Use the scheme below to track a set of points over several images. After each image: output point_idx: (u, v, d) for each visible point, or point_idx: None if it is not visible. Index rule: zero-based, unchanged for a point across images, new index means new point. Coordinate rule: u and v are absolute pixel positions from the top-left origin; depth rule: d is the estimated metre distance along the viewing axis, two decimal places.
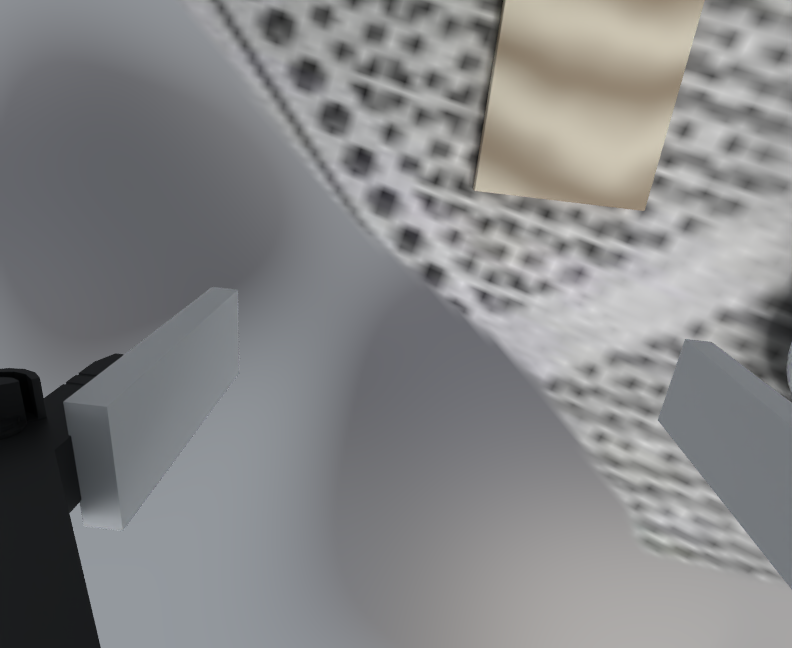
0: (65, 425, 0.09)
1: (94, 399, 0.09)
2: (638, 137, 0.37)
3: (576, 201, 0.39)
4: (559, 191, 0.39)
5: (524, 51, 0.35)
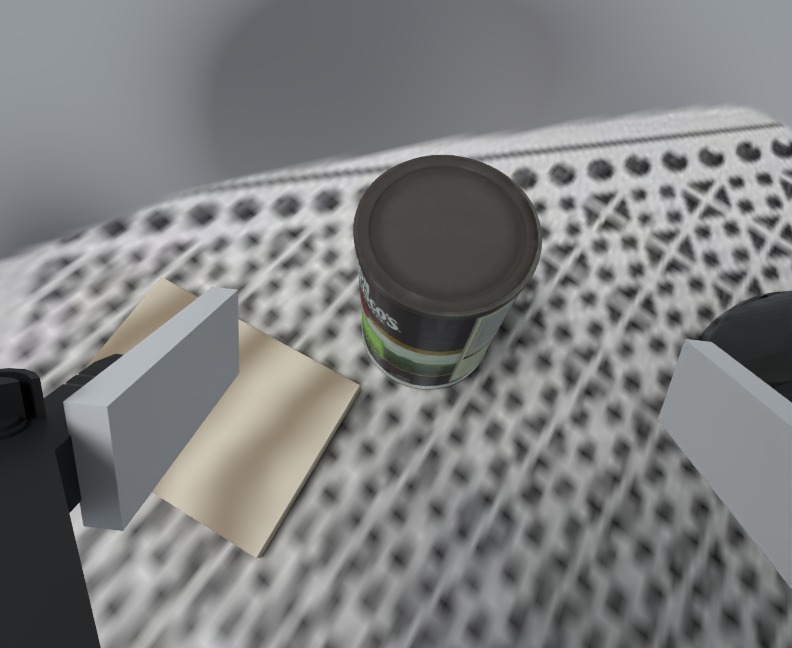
0: (65, 425, 0.09)
1: (94, 399, 0.09)
2: None
3: (93, 359, 0.37)
4: (113, 347, 0.38)
5: (250, 353, 0.38)
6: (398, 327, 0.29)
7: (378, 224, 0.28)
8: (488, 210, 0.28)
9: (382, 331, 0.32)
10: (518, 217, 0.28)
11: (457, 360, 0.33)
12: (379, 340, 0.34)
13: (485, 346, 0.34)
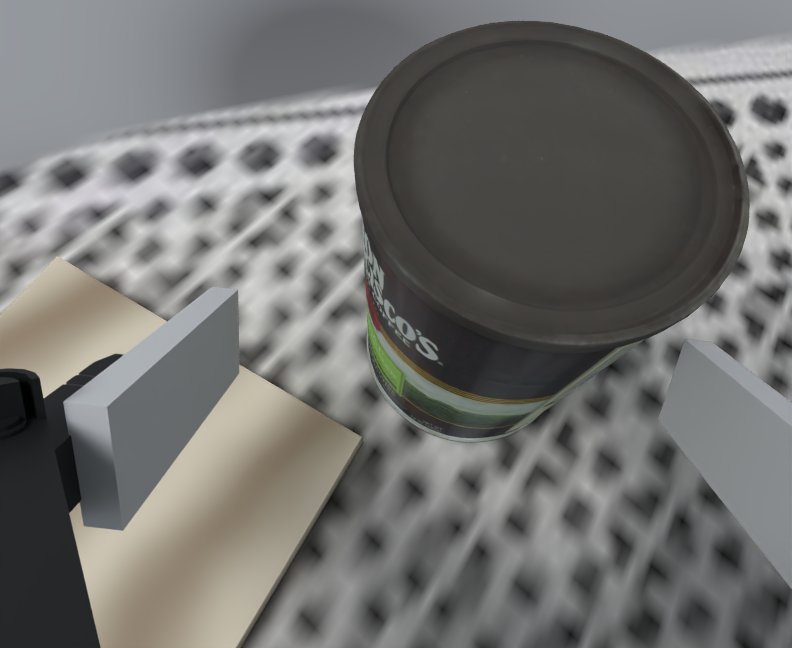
0: (65, 425, 0.09)
1: (94, 399, 0.09)
2: None
3: None
4: None
5: None
6: (439, 356, 0.15)
7: (407, 147, 0.13)
8: (629, 125, 0.14)
9: (404, 358, 0.17)
10: (692, 139, 0.14)
11: (534, 409, 0.19)
12: (397, 370, 0.19)
13: None
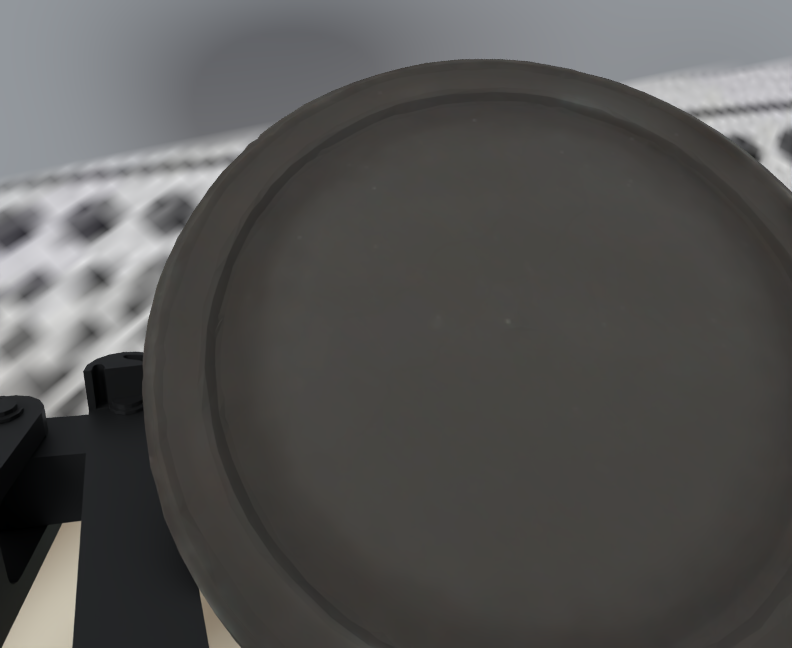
0: None
1: None
2: None
3: None
4: None
5: None
6: None
7: (255, 302, 0.07)
8: (666, 248, 0.08)
9: None
10: (779, 274, 0.08)
11: None
12: None
13: None
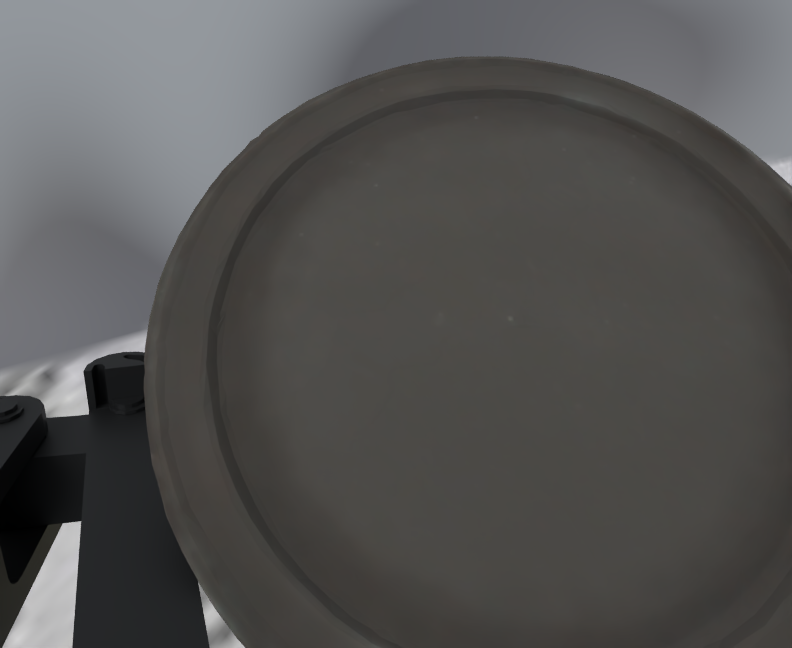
0: None
1: None
2: None
3: None
4: None
5: None
6: None
7: (257, 300, 0.07)
8: (668, 245, 0.08)
9: None
10: (782, 272, 0.08)
11: None
12: None
13: None
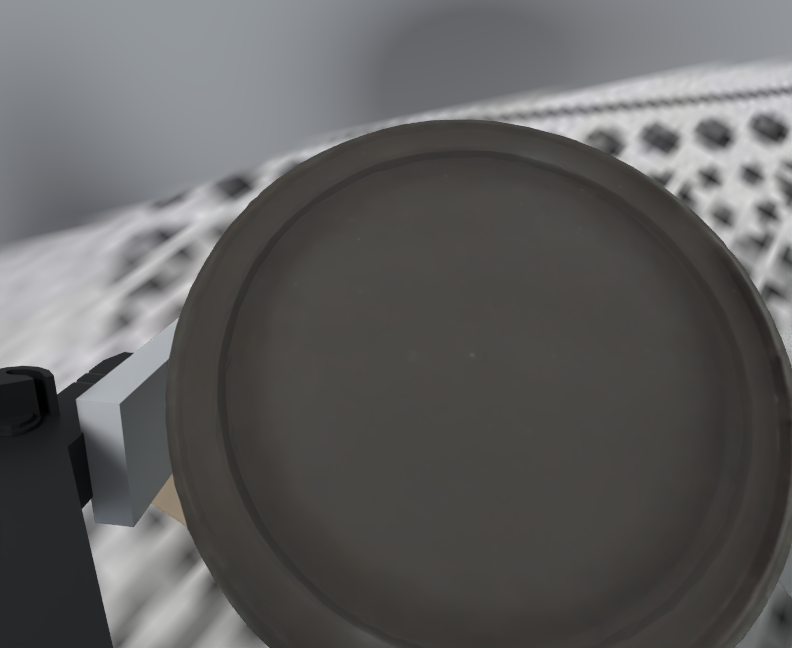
0: (77, 422, 0.09)
1: (106, 397, 0.09)
2: None
3: None
4: None
5: None
6: None
7: (258, 342, 0.08)
8: (608, 288, 0.09)
9: None
10: (705, 309, 0.09)
11: None
12: None
13: None
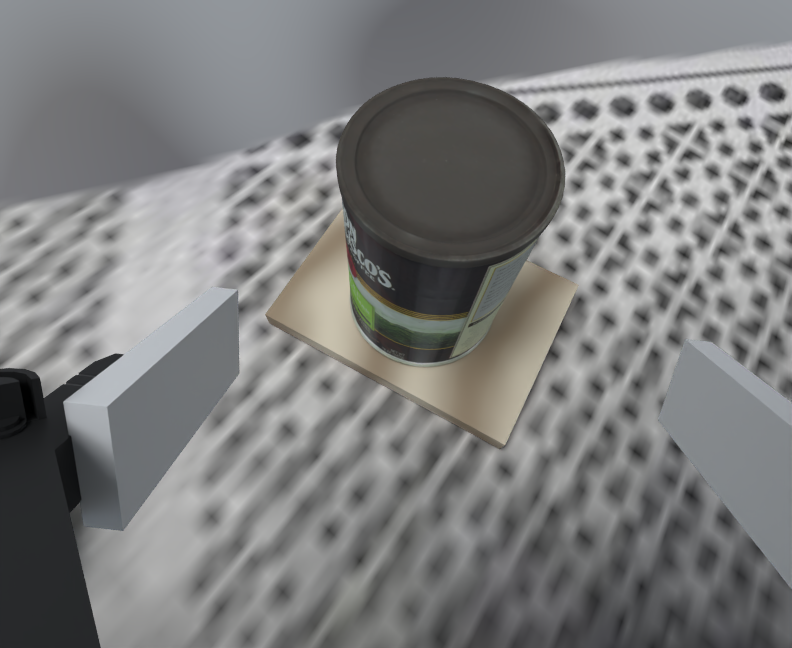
0: (65, 425, 0.09)
1: (94, 399, 0.09)
2: (343, 326, 0.35)
3: (308, 257, 0.37)
4: (325, 246, 0.37)
5: None
6: (392, 283, 0.24)
7: (367, 155, 0.23)
8: (499, 140, 0.23)
9: (372, 292, 0.27)
10: (535, 148, 0.23)
11: (461, 327, 0.28)
12: (369, 306, 0.29)
13: (493, 312, 0.29)
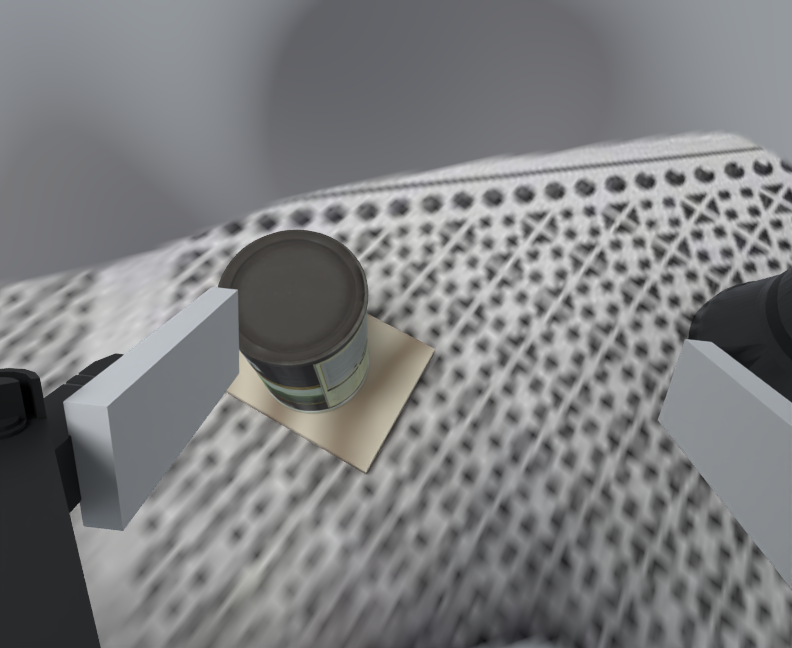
0: (65, 425, 0.09)
1: (94, 399, 0.09)
2: (254, 382, 0.47)
3: None
4: None
5: None
6: (260, 370, 0.36)
7: (238, 289, 0.35)
8: (327, 276, 0.35)
9: (255, 370, 0.39)
10: (351, 282, 0.35)
11: (321, 392, 0.40)
12: (259, 376, 0.41)
13: (348, 379, 0.41)
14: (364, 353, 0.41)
